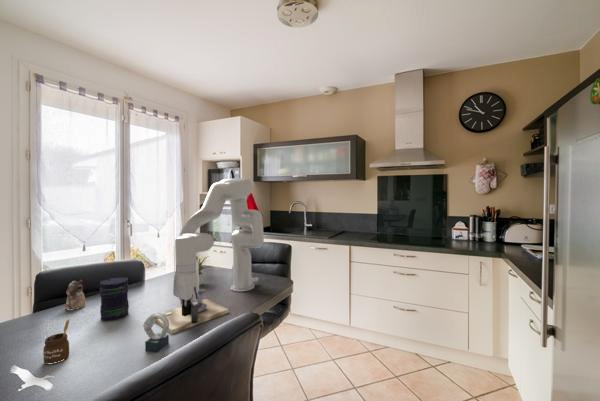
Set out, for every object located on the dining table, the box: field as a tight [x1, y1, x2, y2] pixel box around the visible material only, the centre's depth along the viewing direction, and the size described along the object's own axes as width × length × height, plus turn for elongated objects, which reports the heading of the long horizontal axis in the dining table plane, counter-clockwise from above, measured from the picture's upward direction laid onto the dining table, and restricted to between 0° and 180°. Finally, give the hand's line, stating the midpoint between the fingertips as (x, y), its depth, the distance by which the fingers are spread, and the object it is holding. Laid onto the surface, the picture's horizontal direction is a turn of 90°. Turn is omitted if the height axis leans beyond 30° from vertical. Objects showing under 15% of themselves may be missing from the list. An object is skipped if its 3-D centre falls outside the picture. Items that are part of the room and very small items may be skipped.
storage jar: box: [99, 276, 130, 322], centre depth 115 cm, size 10×10×15 cm
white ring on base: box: [142, 312, 170, 353], centre depth 91 cm, size 6×8×11 cm
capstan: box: [191, 287, 207, 324], centre depth 113 cm, size 18×8×8 cm, turn 17°
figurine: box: [64, 279, 86, 310], centre depth 124 cm, size 7×7×12 cm
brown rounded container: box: [42, 318, 70, 364], centre depth 85 cm, size 6×6×12 cm
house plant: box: [196, 255, 210, 286], centre depth 157 cm, size 14×14×16 cm
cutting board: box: [155, 298, 229, 335], centre depth 115 cm, size 24×18×2 cm
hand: (186, 314), depth 108 cm, fingers closed
